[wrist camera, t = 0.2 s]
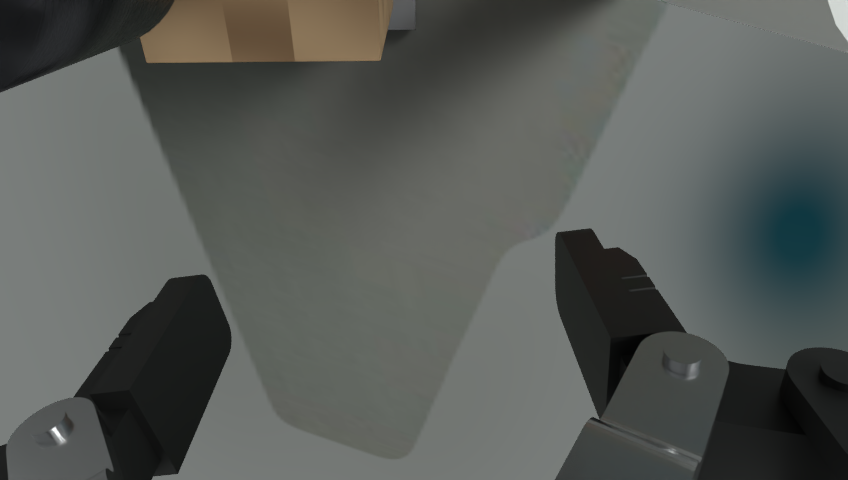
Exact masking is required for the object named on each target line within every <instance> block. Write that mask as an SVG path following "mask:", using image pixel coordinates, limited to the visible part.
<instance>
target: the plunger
mask: <svg viewBox="0 0 848 480" xmlns="http://www.w3.org/2000/svg"><path fill="white" fill-rule="evenodd" d="M174 1H175V0H0V92H2V91H5V90H8V89H10V88H13V87H15V86H18V85H20V84H23V83H25V82H28V81H31V80H33V79H36V78H38V77H41V76H44V75H46V74H49V73H51V72H54V71H56V70H59V69H62V68H64V67H67V66H69V65H72V64H74V63H77V62H79V61H82V60H85V59H87V58H90V57H92V56H95V55H97V54H100V53H102V52H105V51H108V50H110V49H113V48H115V47H118V46H121V45H123V44H126V43H128V42H131V41H133V40H136V39H138V38H140V37H141V36H143V35H145V34H146V33H148V32H149V31H151V30H152V29H153V28H154V27H155V26H156V25H158V24H159V23H160V22H161V20H162V19H163V18H164V17H165V15H166V14H167V13H168V12H169V10H170V8H171V6H172V5H173V3H174Z"/></svg>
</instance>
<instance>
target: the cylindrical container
mask: <svg viewBox="0 0 848 480" xmlns="http://www.w3.org/2000/svg"><path fill="white" fill-rule="evenodd" d="M658 1H661V2H665V3H669V4H672V5H676V6H679V7H683V8H687V9H690V10H694V11H698V12H701V13H705V14H708V15H712V16H716V17H719V18H723V19H726V20H730V21H734V22H737V23H742V24H745V25H748V26H752V27H755V28H759V29H763V30H766V31H770V32H774V33H777V34H781V35H784V36H788V37H792V38H795V39H799V40H803V41H806V42H810V43H813V44H818V45H821V46H824V47H828V48H831V49H835V50H839V51H842V52H846V53H848V0H658Z"/></svg>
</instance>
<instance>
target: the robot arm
mask: <svg viewBox="0 0 848 480" xmlns="http://www.w3.org/2000/svg"><path fill="white" fill-rule="evenodd" d="M555 289H556V301H557V306H558V311H559V314H560V317H561V320H562V322H563V325H564V328H565V330H566V333H567V335H568V338H569V341H570V343H571V346H572V348H573V351H574V354H575V356H576V359H577V362H578V364H579V367H580V369H581V372H582V374H583V377H584V380H585V382H586V385H587V388H588V390H589V393H590V395H591V398H592V401H593V403H594V406H595V409H596V411H597V414H598V416H599V419H600V420H598V419H596V418H594V417H593V418H590V419H589V420H588V421H587V423H586V424H585V426H584V427H583V429H582V431H581V433H580V434H579V436H578V438H577V440H576V442H575V444H574V446H573V447H572V450H571V451H570V453H569V455H568V457H567V458H566V460H565V462H564V464H563V466H562V468H561V470H560V471H559V473H558V475H557V477H556V479H555V480H848V352H845V351H842V350H837V349H832V348H809V349H808V348H807V349H804V350H801V351H798V352H796V353H795V354H793V355H792V356H791V357H790V359H789V360H788V363H787V367H786V370H785V369H777V368H769V367H760V366H753V365H745V364H739V363H734V362H730V361H727V359H726V357H725V356H724V354H723V353H722V352H721V351H720V350H719V349H718V348H717V347H716V346H715V345H713V344H712V343H710V342H709V341H707V340H705V339H703V338H701V337H698V336H695V335H692V334H688V333H687V332H686V331H685V330H684V328H683V327H682V325H681V324H680V322H679V321H678V319H677V318H676V316H675V315H674V313H673V312H672V310H671V309H670V307H669V306H668V304H667V303H666V302H665V300H664V299H663V297H662V296H661V294H660V293H659V291H658V290H656V289H655V285H654V284H653V282H652V281H651V279H650V278H649V277H647V274H646V272H645V271H644V269H643V268H642V266H641V265H640V264H639V262H638V260H637V259H636V258H634V257H632V256H631V255H629V254H628V253H626V252H625V251H623V250H622V249H620V248H618V247H617V248H609V249H604V248H603V246H602V245H601V243H600V242H599V240H598V238H597V236H596V235H595V233H594V232H593V230H592V229H581V230H573V231H565V232H558V233H557V234H556V239H555ZM230 349H231V331H230V327H229V324H228V321H227V319H226V317H225V314H224V312H223V309H222V307H221V304H220V302H219V300H218V297H217V295H216V292H215V290H214V287H213V285H212V283H211V281H210V279H209V278H208V277H207V276H206V275H195V276H186V277H178V278H171V279H169V280H168V281H167V282H166V284H165V286H164V287H163V288H162V290H161V291H160V293H159V294H158V296H157V297H156V298H155V300H154V301H153V302H149V303H148V304H147V305H146V306H144V307H143V308H142V309H141V310H139V311H138V312H137V313H136V314H135V315H133V316H132V317H131V318H130V319H129V321H128V322H127V323H126V325H125V326H124V328H123V329H122V330H121V332H120V333H119V337H118V338H116V339H115V340H114V341H113V343H112V344H111V346H110V347H109V351H108V352H105V354H104V355H103V357H102V358H101V360H100V361H99V362H98V364H97V365H96V366H95V368H94V369H93V371H92V372H91V373H90V375H89V376H88V378H87V379H86V380H85V382H84V383H83V384H82V386H81V387H80V389H79V390H78V392H77V393H76V394H75V396H74V397H73V398H68V399H64V400H60V401H57V402H55V403H52V404H50V405H48V406H46V407H44V408H42V409H41V410H39V411H37V412H36V413H34V414H33V415H32V416H30V417H29V418H28V419H26V420H25V421H24V422H23V423H22V424H21V425H20V426H19V427H18V428H17V429H16V430H15V431H14V433H13V434H12V435H11V437H10V439H9V441H8V443H7V444H5V445H2V446H0V480H151V479H152V477H153V476H161V475H171V474H178V472H179V470H180V467H181V465H182V463H183V461H184V458H185V456H186V453H187V451H188V449H189V447H190V444H191V442H192V440H193V437H194V435H195V432H196V430H197V428H198V425H199V423H200V421H201V418H202V416H203V413H204V411H205V409H206V407H207V404H208V402H209V400H210V397H211V395H212V393H213V390H214V388H215V385H216V383H217V381H218V379H219V376H220V374H221V372H222V369H223V367H224V364H225V362H226V360H227V357H228V355H229V353H230Z"/></svg>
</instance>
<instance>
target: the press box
mask: <svg viewBox="0 0 848 480" xmlns="http://www.w3.org/2000/svg"><path fill="white" fill-rule="evenodd" d="M387 30H416V18H415V0H175V1H174V3H173V5H172V6H171V8H170V10H169V12H168V13H167V14H166V15H165V17H164V18H163V19H162V20H161V22H160V23H159V24H158V25H156V26H155V27H154V28H153V29H152V30H151V31H149V32H148V33H146V34H145V35H143V36H141V37H140V40H141V43H142V47H143V51H144V55H145V59H146V63H188V62H294V61H380V60H381V56H382V52H383V47H384V43H385V39H386V35H387Z"/></svg>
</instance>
